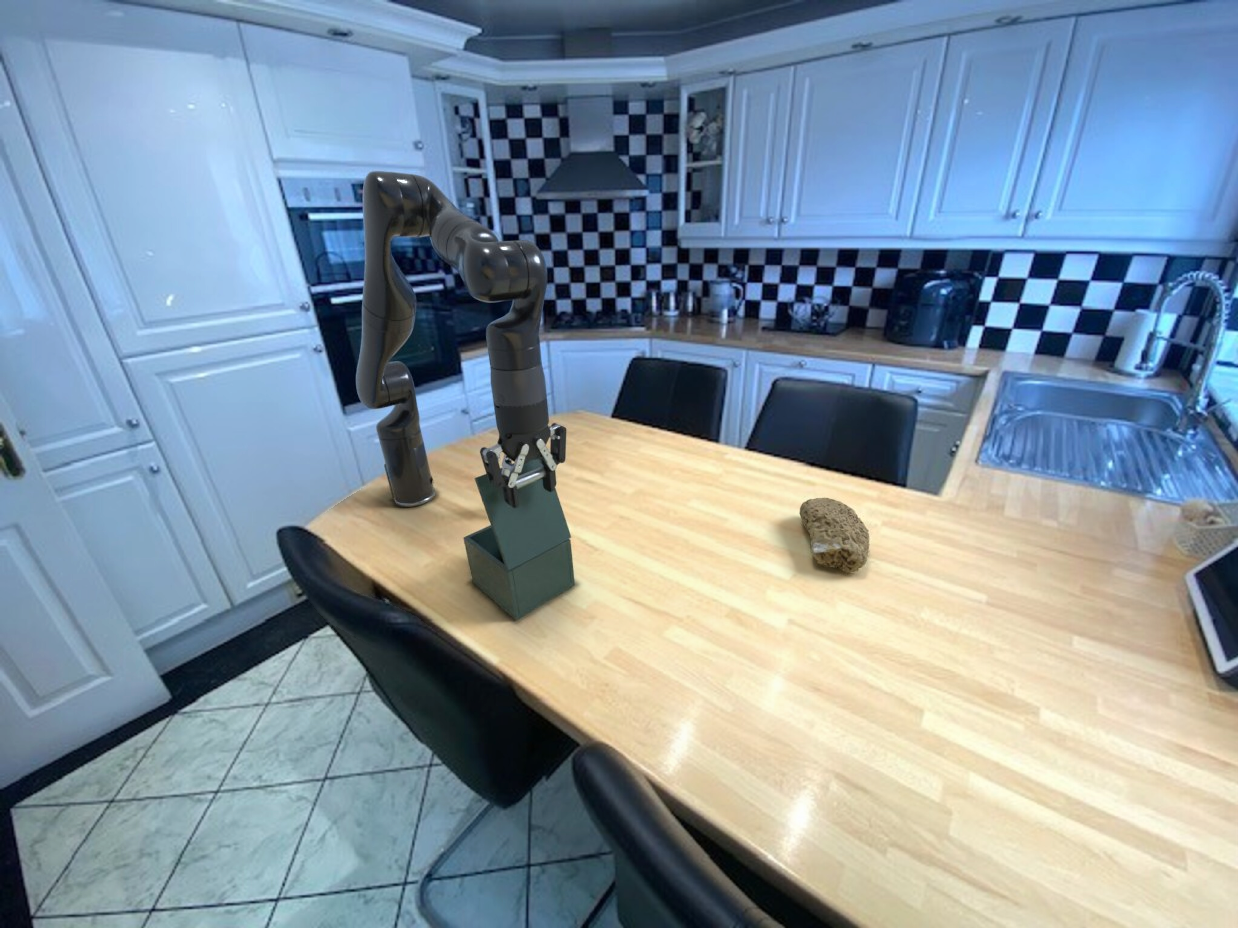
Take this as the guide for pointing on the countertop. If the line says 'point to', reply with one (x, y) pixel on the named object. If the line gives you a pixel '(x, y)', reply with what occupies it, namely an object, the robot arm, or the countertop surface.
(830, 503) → the sponge
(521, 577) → the bin
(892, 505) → the countertop surface
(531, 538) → the bin lid
